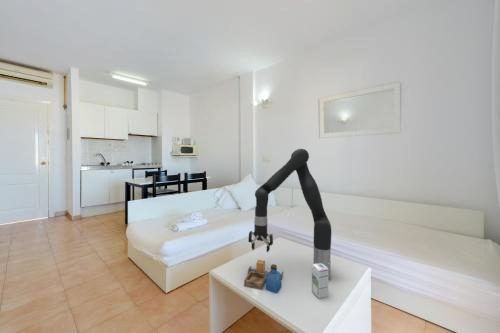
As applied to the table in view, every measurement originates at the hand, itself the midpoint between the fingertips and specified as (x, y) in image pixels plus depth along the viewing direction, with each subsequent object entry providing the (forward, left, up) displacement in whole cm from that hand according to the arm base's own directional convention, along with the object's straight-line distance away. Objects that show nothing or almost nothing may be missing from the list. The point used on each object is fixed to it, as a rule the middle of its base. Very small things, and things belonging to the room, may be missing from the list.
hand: (260, 250), depth 122 cm
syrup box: (-33, +8, -14) cm, 37 cm away
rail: (-3, 0, -14) cm, 14 cm away
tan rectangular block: (+2, 0, -13) cm, 13 cm away
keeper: (0, +9, -14) cm, 17 cm away
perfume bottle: (-10, +11, -14) cm, 21 cm away
